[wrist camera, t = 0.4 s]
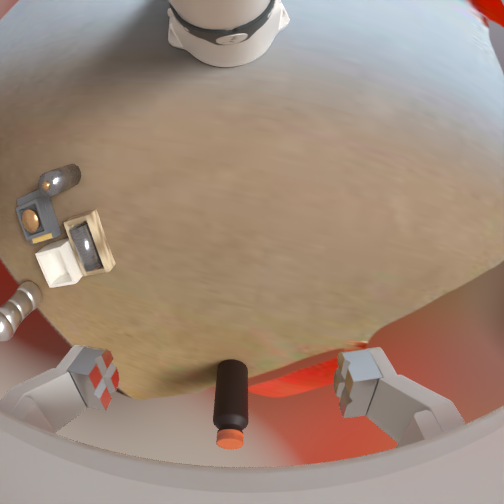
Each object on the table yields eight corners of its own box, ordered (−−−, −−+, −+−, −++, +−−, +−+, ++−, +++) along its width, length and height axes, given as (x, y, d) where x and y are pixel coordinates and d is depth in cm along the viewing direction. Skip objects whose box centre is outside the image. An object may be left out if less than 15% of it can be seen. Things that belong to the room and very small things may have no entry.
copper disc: (21, 211, 42) (19, 213, 41) (35, 205, 42) (33, 207, 41) (28, 233, 44) (26, 234, 43) (43, 228, 44) (40, 229, 43)
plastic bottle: (33, 303, 55) (-10, 355, 37) (21, 279, 52) (-27, 328, 34) (49, 300, 54) (4, 355, 36) (35, 275, 51) (-15, 327, 33)
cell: (61, 168, 42) (34, 178, 35) (77, 161, 42) (50, 170, 34) (67, 188, 44) (40, 201, 36) (83, 182, 44) (57, 194, 36)
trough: (71, 217, 46) (63, 222, 44) (96, 209, 46) (88, 214, 43) (90, 268, 51) (84, 276, 48) (115, 264, 51) (109, 271, 48)
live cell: (76, 224, 46) (65, 232, 43) (92, 220, 46) (81, 227, 42) (91, 265, 50) (82, 275, 46) (107, 262, 50) (98, 272, 46)
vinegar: (240, 381, 64) (239, 453, 46) (213, 373, 63) (206, 446, 44) (252, 364, 61) (255, 440, 43) (224, 355, 60) (218, 433, 42)
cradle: (21, 197, 44) (11, 202, 41) (46, 185, 43) (35, 190, 40) (36, 241, 48) (27, 248, 45) (61, 233, 48) (52, 240, 44)
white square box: (48, 243, 48) (34, 253, 44) (73, 236, 48) (60, 246, 43) (61, 275, 52) (49, 287, 47) (87, 270, 51) (75, 283, 47)
